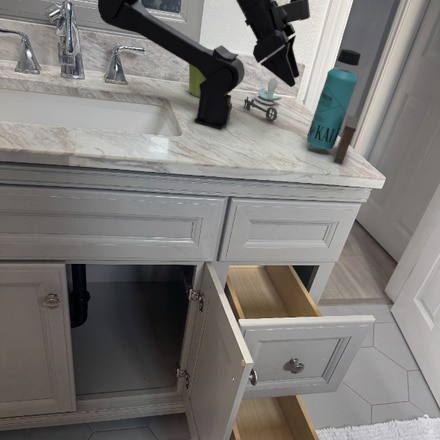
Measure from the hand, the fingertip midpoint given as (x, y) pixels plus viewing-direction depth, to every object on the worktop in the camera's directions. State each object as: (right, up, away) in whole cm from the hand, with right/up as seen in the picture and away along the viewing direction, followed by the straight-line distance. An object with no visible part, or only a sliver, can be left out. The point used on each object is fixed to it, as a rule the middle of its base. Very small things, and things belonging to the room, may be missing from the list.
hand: (295, 81), depth 87 cm
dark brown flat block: (+11, -13, +7) cm, 19 cm away
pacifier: (-3, +9, +31) cm, 32 cm away
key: (-6, +1, +20) cm, 21 cm away
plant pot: (-21, +9, +25) cm, 33 cm away
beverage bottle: (+6, -12, +7) cm, 15 cm away
